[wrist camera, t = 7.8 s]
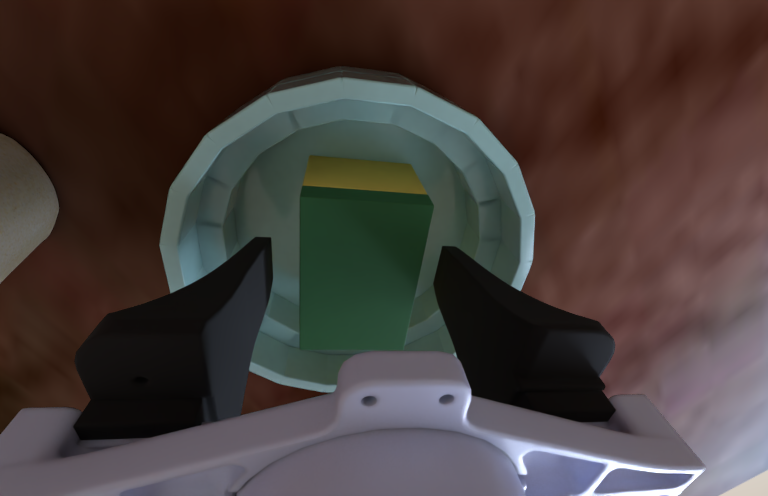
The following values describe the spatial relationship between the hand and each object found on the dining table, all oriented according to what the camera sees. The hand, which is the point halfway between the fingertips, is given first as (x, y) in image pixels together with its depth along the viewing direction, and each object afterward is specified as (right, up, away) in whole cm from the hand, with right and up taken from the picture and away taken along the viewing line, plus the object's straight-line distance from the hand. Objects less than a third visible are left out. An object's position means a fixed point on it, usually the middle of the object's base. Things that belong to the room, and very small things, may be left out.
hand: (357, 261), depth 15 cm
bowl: (0, +2, +3) cm, 3 cm away
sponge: (0, +1, +2) cm, 3 cm away
